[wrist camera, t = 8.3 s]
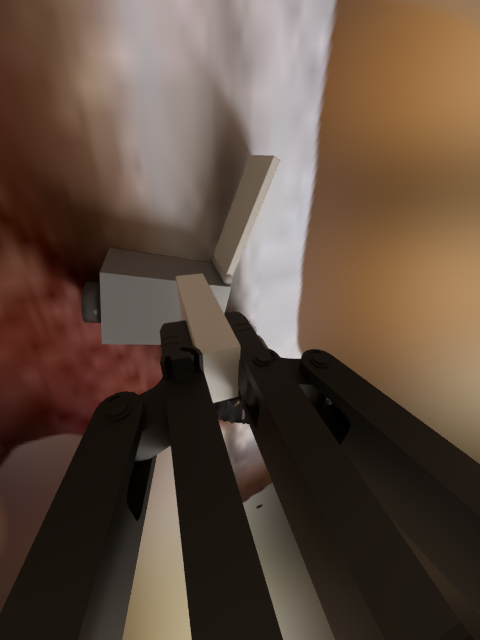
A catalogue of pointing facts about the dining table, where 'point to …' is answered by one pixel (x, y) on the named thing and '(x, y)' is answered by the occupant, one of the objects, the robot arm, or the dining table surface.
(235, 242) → the side door
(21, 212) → the dining table surface
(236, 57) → the dining table surface
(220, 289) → the cabinet with round knob
